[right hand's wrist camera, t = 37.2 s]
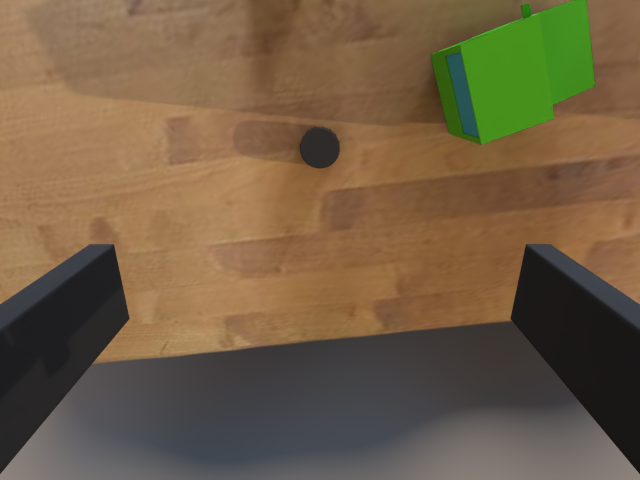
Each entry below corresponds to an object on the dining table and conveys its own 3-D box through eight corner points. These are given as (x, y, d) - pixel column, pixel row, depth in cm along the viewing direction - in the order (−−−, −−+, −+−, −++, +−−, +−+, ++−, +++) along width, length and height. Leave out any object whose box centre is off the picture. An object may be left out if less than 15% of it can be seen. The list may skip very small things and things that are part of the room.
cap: (338, 125, 42) (338, 126, 40) (339, 164, 44) (340, 167, 42) (299, 127, 42) (298, 129, 40) (302, 166, 44) (301, 169, 42)
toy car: (570, 96, 41) (644, 99, 31) (447, 141, 42) (483, 156, 33) (557, -9, 37) (636, -42, 28) (424, 44, 39) (457, 30, 30)
